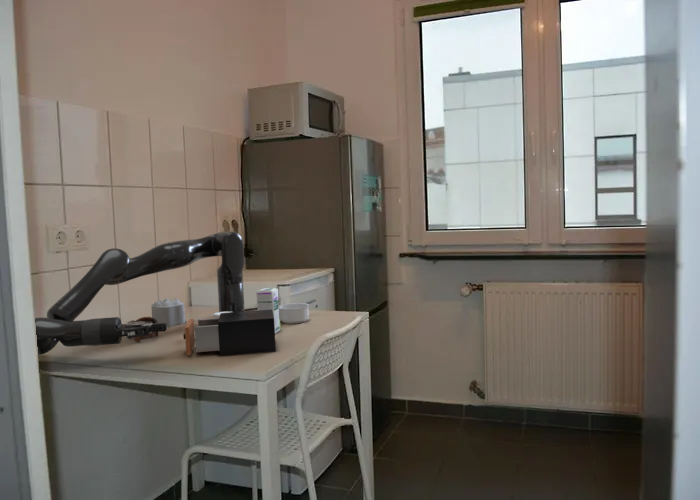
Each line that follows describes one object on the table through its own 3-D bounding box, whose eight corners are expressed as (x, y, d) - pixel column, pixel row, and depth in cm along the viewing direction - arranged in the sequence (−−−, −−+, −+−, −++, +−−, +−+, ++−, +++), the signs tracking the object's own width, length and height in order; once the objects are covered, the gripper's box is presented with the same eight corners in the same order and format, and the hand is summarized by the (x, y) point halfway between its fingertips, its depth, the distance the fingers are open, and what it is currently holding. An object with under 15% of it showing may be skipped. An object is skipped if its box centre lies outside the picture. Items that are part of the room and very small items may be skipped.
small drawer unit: (219, 356, 158) (217, 322, 158) (222, 344, 172) (220, 313, 171) (275, 351, 161) (274, 318, 160) (273, 340, 175) (272, 309, 174)
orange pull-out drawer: (182, 355, 157) (180, 327, 156) (187, 344, 169) (185, 319, 169) (239, 350, 160) (237, 323, 159) (239, 340, 172) (238, 315, 171)
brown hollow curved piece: (167, 336, 188) (165, 318, 183) (151, 355, 180) (149, 336, 176) (135, 327, 190) (132, 308, 185) (118, 345, 182) (115, 326, 178)
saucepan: (328, 314, 212) (327, 300, 211) (298, 325, 195) (297, 309, 194) (303, 312, 218) (302, 298, 217) (271, 323, 200) (271, 307, 200)
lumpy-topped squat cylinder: (162, 327, 200) (160, 303, 200) (146, 323, 210) (145, 300, 209) (188, 322, 207) (187, 299, 207) (172, 318, 217) (171, 296, 216)
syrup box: (275, 334, 183) (273, 290, 182) (258, 334, 184) (256, 290, 183) (280, 330, 188) (278, 287, 187) (264, 330, 190) (262, 287, 189)
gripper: (94, 323, 149) (161, 318, 152) (107, 314, 162) (169, 309, 165) (96, 350, 149) (163, 345, 152) (108, 339, 162) (170, 334, 165)
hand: (166, 327), depth 158 cm, fingers closed
